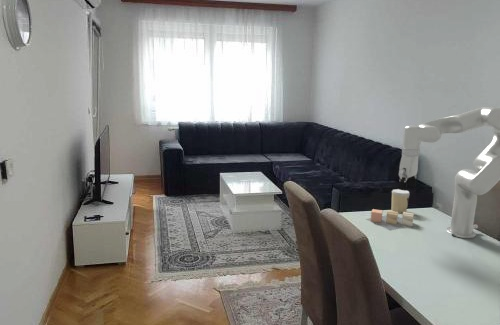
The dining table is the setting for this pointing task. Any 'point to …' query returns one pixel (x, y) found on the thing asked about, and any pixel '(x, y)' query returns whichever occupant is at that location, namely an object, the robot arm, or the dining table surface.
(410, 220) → the birch block
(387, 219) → the oak base brick
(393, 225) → the baseplate
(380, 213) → the terracotta block
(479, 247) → the dining table surface
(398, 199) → the coffee cup
